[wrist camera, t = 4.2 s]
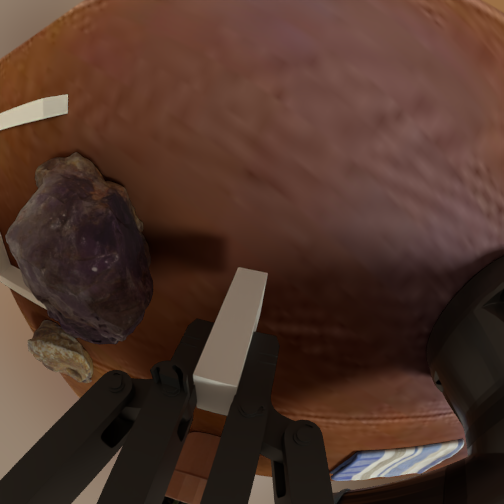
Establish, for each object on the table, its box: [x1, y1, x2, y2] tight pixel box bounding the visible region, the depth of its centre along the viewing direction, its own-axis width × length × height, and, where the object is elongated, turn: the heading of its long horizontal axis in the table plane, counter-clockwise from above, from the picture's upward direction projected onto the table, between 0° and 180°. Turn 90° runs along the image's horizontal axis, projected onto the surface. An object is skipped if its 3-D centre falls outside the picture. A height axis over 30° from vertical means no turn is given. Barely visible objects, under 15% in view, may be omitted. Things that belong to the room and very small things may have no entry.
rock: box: [5, 152, 153, 344], centre depth 15 cm, size 12×9×10 cm
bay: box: [0, 94, 68, 309], centre depth 19 cm, size 20×21×2 cm
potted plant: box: [162, 432, 221, 504], centre depth 27 cm, size 14×14×25 cm
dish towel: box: [330, 439, 464, 481], centre depth 33 cm, size 17×24×3 cm
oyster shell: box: [28, 320, 93, 383], centre depth 30 cm, size 11×15×6 cm
